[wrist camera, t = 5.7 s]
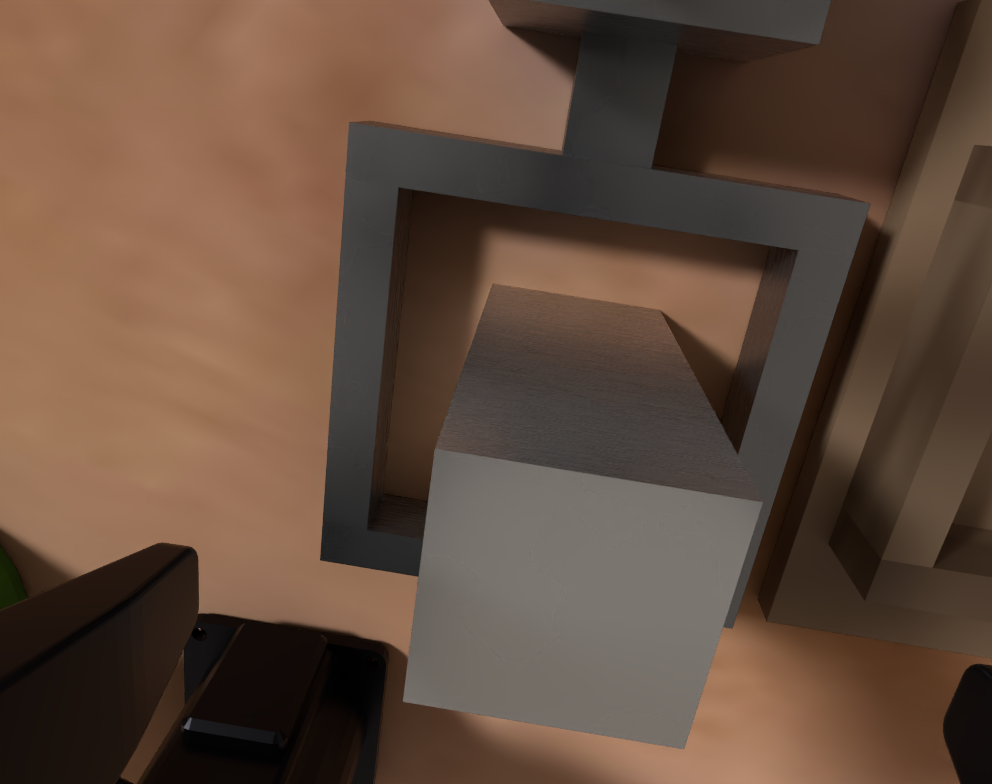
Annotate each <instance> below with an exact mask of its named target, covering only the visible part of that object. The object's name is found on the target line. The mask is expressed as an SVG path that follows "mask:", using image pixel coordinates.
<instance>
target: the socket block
mask: <svg viewBox="0 0 992 784" xmlns="http://www.w3.org/2000/svg"><path fill="white" fill-rule="evenodd" d="M489 2H490V4H491V5H492V7H493V9H494V10H495V12H496V14H497V15H498V17H499V19H500V21H501V22H502V24H503V26H509V27H516V28H522V29H529V30H535V31H542V32H548V33H555V34H561V35H568V36H574V37H581V40H580V46H579V52H578V58H577V64H576V69H575V75H574V81H573V87H572V93H571V99H570V105H569V111H568V117H567V123H566V129H565V135H564V140H563V146H562V151H560V150H553V149H547V148H540V147H534V146H528V145H521V144H515V143H508V142H502V141H496V140H489V139H483V138H476V137H470V136H464V135H457V134H451V133H444V132H438V131H432V130H425V129H419V128H412V127H406V126H400V125H393V124H387V123H380V122H374V121H362V122H349V134H348V149H347V164H346V179H345V194H344V209H343V224H342V239H341V255H340V270H339V285H338V300H337V315H336V330H335V345H334V360H333V376H332V391H331V406H330V421H329V436H328V451H327V466H326V481H325V496H324V512H323V527H322V542H321V557H320V560H322V561H328V562H334V563H340V564H346V565H352V566H358V567H364V568H370V569H376V570H382V571H388V572H394V573H400V574H406V575H412V576H418V577H419V569H420V562H421V554H422V546H423V538H424V530H425V522H426V514H427V506H428V501H424V500H418V499H412V498H405V497H399V496H393V495H387V494H383V487H384V477H385V467H386V457H387V447H388V437H389V427H390V417H391V407H392V397H393V387H394V377H395V367H396V357H397V347H398V337H399V327H400V317H401V307H402V297H403V286H404V276H405V266H406V256H407V246H408V236H409V226H410V216H411V206H412V196H413V190H419V191H426V192H432V193H438V194H445V195H451V196H457V197H464V198H470V199H477V200H483V201H489V202H496V203H502V204H508V205H515V206H521V207H527V208H534V209H540V210H546V211H553V212H559V213H565V214H572V215H578V216H584V217H591V218H597V219H604V220H610V221H616V222H623V223H629V224H635V225H642V226H648V227H654V228H661V229H667V230H673V231H680V232H686V233H692V234H699V235H705V236H711V237H718V238H724V239H731V240H737V241H743V242H750V243H756V244H762V245H769V246H770V250H769V253H768V257H767V261H766V264H765V268H764V271H763V275H762V278H761V282H760V285H759V289H758V292H757V296H756V300H755V303H754V307H753V310H752V314H751V317H750V321H749V324H748V328H747V331H746V335H745V339H744V342H743V346H742V349H741V353H740V356H739V360H738V363H737V367H736V371H735V374H734V378H733V381H732V385H731V388H730V392H729V395H728V399H727V402H726V406H725V410H724V413H723V417H722V420H721V425H722V427H723V429H724V431H725V432H726V434H727V436H728V438H729V440H730V442H731V444H732V446H733V447H734V449H735V451H736V453H737V455H738V457H739V459H740V460H741V462H742V464H743V466H744V468H745V470H746V472H747V474H748V475H749V477H750V479H751V481H752V483H753V485H754V487H755V488H756V490H757V492H758V494H759V496H760V498H761V500H762V502H763V503H762V507H761V510H760V513H759V516H758V519H757V522H756V525H755V528H754V532H753V535H752V538H751V541H750V544H749V547H748V550H747V554H746V557H745V560H744V563H743V566H742V569H741V572H740V575H739V579H738V582H737V585H736V588H735V591H734V594H733V597H732V601H731V604H730V607H729V610H728V613H727V616H726V619H725V622H724V626H723V627H726V628H733V625H734V622H735V619H736V616H737V613H738V610H739V607H740V604H741V601H742V598H743V594H744V591H745V588H746V585H747V582H748V579H749V576H750V573H751V570H752V567H753V564H754V561H755V558H756V555H757V551H758V548H759V545H760V542H761V539H762V536H763V533H764V530H765V527H766V524H767V521H768V518H769V515H770V511H771V508H772V505H773V502H774V499H775V496H776V493H777V490H778V487H779V484H780V481H781V478H782V475H783V471H784V468H785V465H786V462H787V459H788V456H789V453H790V450H791V447H792V444H793V441H794V438H795V435H796V431H797V428H798V425H799V422H800V419H801V416H802V413H803V410H804V407H805V404H806V401H807V398H808V395H809V392H810V388H811V385H812V382H813V379H814V376H815V373H816V370H817V367H818V364H819V361H820V358H821V355H822V352H823V348H824V345H825V342H826V339H827V336H828V333H829V330H830V327H831V324H832V321H833V318H834V315H835V312H836V308H837V305H838V302H839V299H840V296H841V293H842V290H843V287H844V284H845V281H846V278H847V275H848V272H849V269H850V265H851V262H852V259H853V256H854V253H855V250H856V247H857V244H858V241H859V238H860V235H861V232H862V229H863V225H864V222H865V219H866V216H867V213H868V210H869V207H870V203H866V202H863V201H860V200H856V199H853V198H849V197H846V196H843V195H839V194H835V193H829V192H822V191H816V190H809V189H803V188H797V187H790V186H784V185H777V184H771V183H765V182H758V181H752V180H745V179H739V178H732V177H726V176H720V175H713V174H707V173H700V172H694V171H688V170H681V169H675V168H668V167H662V166H656V165H652V163H653V158H654V153H655V149H656V144H657V139H658V135H659V130H660V125H661V121H662V116H663V111H664V107H665V102H666V97H667V93H668V88H669V83H670V79H671V74H672V69H673V65H674V60H675V55H676V52H678V53H685V54H691V55H698V56H704V57H711V58H717V59H724V60H730V61H737V62H743V63H746V62H750V61H755V60H759V59H763V58H767V57H771V56H775V55H779V54H783V53H787V52H791V51H795V50H800V49H804V48H808V47H812V46H816V45H819V43H820V40H821V36H822V32H823V29H824V25H825V22H826V18H827V14H828V11H829V7H830V4H831V0H489Z"/></svg>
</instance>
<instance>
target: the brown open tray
mask: <svg viewBox="0 0 992 784" xmlns="http://www.w3.org/2000/svg"><path fill="white" fill-rule="evenodd" d="M758 602H759V604H760V606H761V609H762V611H763V613H764V616H765V618H766V621H767V622H773V623H779V624H786V625H792V626H798V627H804V628H810V629H816V630H822V631H828V632H834V633H840V634H846V635H852V636H858V637H864V638H870V639H876V640H882V641H888V642H894V643H900V644H906V645H913V646H919V647H925V648H931V649H937V650H943V651H949V652H955V653H961V654H967V655H973V656H979V657H985V658H991V659H992V0H967V1H963V2H959V3H957V6H956V9H955V12H954V15H953V18H952V21H951V24H950V27H949V30H948V33H947V36H946V39H945V42H944V45H943V48H942V51H941V54H940V57H939V60H938V63H937V66H936V69H935V72H934V75H933V78H932V81H931V84H930V87H929V90H928V93H927V96H926V99H925V102H924V105H923V108H922V111H921V114H920V117H919V119H918V122H917V125H916V128H915V131H914V134H913V137H912V140H911V143H910V146H909V149H908V152H907V155H906V158H905V161H904V164H903V167H902V170H901V173H900V176H899V179H898V182H897V185H896V188H895V191H894V194H893V197H892V200H891V203H890V206H889V209H888V212H887V215H886V218H885V221H884V224H883V227H882V230H881V233H880V236H879V239H878V242H877V245H876V248H875V251H874V254H873V257H872V260H871V263H870V266H869V269H868V272H867V275H866V278H865V281H864V284H863V287H862V290H861V293H860V296H859V299H858V302H857V305H856V308H855V311H854V314H853V317H852V320H851V323H850V326H849V329H848V332H847V334H846V337H845V340H844V343H843V346H842V349H841V352H840V355H839V358H838V361H837V364H836V367H835V370H834V373H833V376H832V379H831V382H830V385H829V388H828V391H827V394H826V397H825V400H824V403H823V406H822V409H821V412H820V415H819V418H818V421H817V424H816V427H815V430H814V433H813V436H812V439H811V442H810V445H809V448H808V451H807V454H806V457H805V460H804V463H803V466H802V469H801V472H800V475H799V478H798V481H797V484H796V487H795V490H794V493H793V496H792V499H791V502H790V505H789V508H788V511H787V514H786V517H785V520H784V523H783V526H782V529H781V532H780V535H779V538H778V541H777V544H776V547H775V549H774V552H773V555H772V558H771V561H770V564H769V567H768V570H767V573H766V576H765V579H764V582H763V585H762V588H761V591H760V594H759V597H758Z"/></svg>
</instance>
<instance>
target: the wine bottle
mask: <svg viewBox="0 0 992 784" xmlns="http://www.w3.org/2000/svg"><path fill="white" fill-rule="evenodd" d="M25 599H27V595H26V592H25V590H24V587H23V585H22V582H21V580H20V577H19V575H18V572H17V569H16V568H15V566H14V565H13V563H12V562H11V560H10V559H9V558H8V556H7V555H6V553H5V552H4V550H3V549H2V547H1V546H0V610H1V609H4V608H6V607H8V606H11V605H13V604H16V603H18V602H20V601H23V600H25Z"/></svg>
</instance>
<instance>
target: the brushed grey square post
mask: <svg viewBox="0 0 992 784" xmlns="http://www.w3.org/2000/svg"><path fill="white" fill-rule="evenodd" d="M762 503H763V502H762V500H761V498H760V496H759V494H758V492H757V490H756V488H755V487H754V485H753V483H752V481H751V479H750V477H749V475H748V474H747V472H746V470H745V468H744V466H743V464H742V462H741V460H740V459H739V457H738V455H737V453H736V451H735V449H734V447H733V446H732V444H731V442H730V440H729V438H728V436H727V434H726V432H725V431H724V429H723V427H722V425H721V423H720V421H719V419H718V418H717V416H716V414H715V412H714V410H713V408H712V406H711V404H710V403H709V401H708V399H707V397H706V395H705V393H704V391H703V390H702V388H701V386H700V384H699V382H698V380H697V378H696V376H695V375H694V373H693V371H692V369H691V367H690V365H689V363H688V362H687V360H686V358H685V356H684V354H683V352H682V350H681V348H680V347H679V345H678V343H677V341H676V339H675V337H674V335H673V334H672V332H671V330H670V328H669V326H668V324H667V322H666V320H665V319H664V317H663V315H662V313H661V311H660V310H655V309H649V308H643V307H637V306H630V305H624V304H618V303H611V302H605V301H599V300H593V299H586V298H580V297H574V296H568V295H561V294H555V293H549V292H543V291H536V290H530V289H524V288H517V287H511V286H505V285H499V284H492V287H491V289H490V292H489V295H488V298H487V301H486V304H485V307H484V309H483V312H482V315H481V318H480V321H479V324H478V327H477V329H476V332H475V335H474V338H473V341H472V344H471V347H470V349H469V352H468V355H467V358H466V361H465V364H464V367H463V369H462V372H461V375H460V378H459V381H458V384H457V387H456V389H455V392H454V395H453V398H452V401H451V404H450V407H449V409H448V412H447V415H446V418H445V421H444V424H443V427H442V429H441V432H440V435H439V438H438V441H437V444H436V447H435V451H434V459H433V467H432V475H431V483H430V490H429V498H428V506H427V514H426V522H425V530H424V538H423V546H422V554H421V562H420V569H419V577H418V585H417V593H416V601H415V609H414V617H413V625H412V633H411V641H410V649H409V656H408V664H407V672H406V680H405V688H404V696H403V702H407V703H413V704H419V705H425V706H431V707H437V708H442V709H448V710H454V711H460V712H466V713H472V714H478V715H484V716H490V717H496V718H502V719H508V720H514V721H519V722H525V723H531V724H537V725H543V726H549V727H555V728H561V729H567V730H573V731H579V732H585V733H590V734H596V735H602V736H608V737H614V738H620V739H626V740H632V741H638V742H644V743H650V744H656V745H662V746H667V747H673V748H679V749H684V748H685V745H686V742H687V738H688V735H689V732H690V729H691V726H692V723H693V720H694V716H695V713H696V710H697V707H698V704H699V701H700V698H701V695H702V691H703V688H704V685H705V682H706V679H707V676H708V673H709V669H710V666H711V663H712V660H713V657H714V654H715V651H716V648H717V644H718V641H719V638H720V635H721V632H722V629H723V626H724V622H725V619H726V616H727V613H728V610H729V607H730V604H731V601H732V597H733V594H734V591H735V588H736V585H737V582H738V579H739V575H740V572H741V569H742V566H743V563H744V560H745V557H746V554H747V550H748V547H749V544H750V541H751V538H752V535H753V532H754V528H755V525H756V522H757V519H758V516H759V513H760V510H761V507H762Z"/></svg>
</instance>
